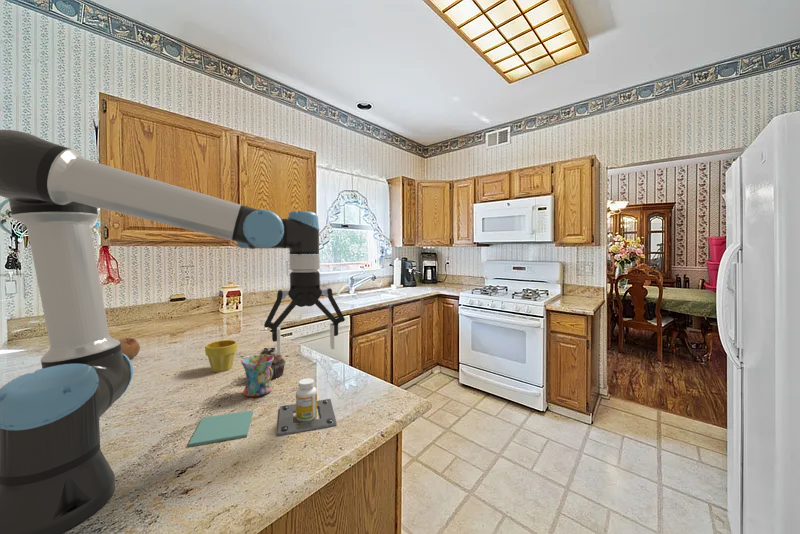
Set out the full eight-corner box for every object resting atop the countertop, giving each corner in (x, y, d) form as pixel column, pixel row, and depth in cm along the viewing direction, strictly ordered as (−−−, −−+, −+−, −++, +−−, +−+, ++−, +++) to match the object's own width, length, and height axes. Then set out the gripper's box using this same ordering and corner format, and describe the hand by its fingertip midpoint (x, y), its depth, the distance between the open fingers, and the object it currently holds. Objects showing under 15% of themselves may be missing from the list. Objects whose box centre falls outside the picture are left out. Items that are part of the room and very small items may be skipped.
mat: (246, 436, 75) (246, 434, 75) (188, 446, 71) (188, 444, 71) (252, 412, 86) (252, 410, 86) (202, 419, 82) (202, 417, 82)
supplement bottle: (307, 409, 88) (307, 375, 87) (321, 414, 85) (321, 379, 85) (291, 418, 83) (291, 382, 83) (306, 424, 80) (305, 387, 80)
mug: (236, 394, 97) (235, 360, 97) (263, 383, 105) (262, 352, 105) (258, 404, 91) (257, 368, 90) (285, 392, 98) (285, 359, 98)
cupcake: (285, 379, 109) (285, 350, 109) (255, 383, 105) (254, 354, 105) (285, 369, 118) (284, 343, 117) (256, 373, 114) (256, 346, 114)
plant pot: (224, 375, 112) (223, 348, 112) (199, 373, 114) (198, 347, 113) (243, 365, 123) (242, 340, 122) (219, 363, 124) (219, 339, 124)
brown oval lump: (136, 365, 130) (147, 344, 130) (107, 366, 122) (118, 343, 122) (131, 353, 135) (141, 332, 135) (102, 353, 128) (113, 331, 127)
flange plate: (336, 425, 80) (336, 421, 80) (277, 435, 75) (277, 432, 75) (330, 400, 93) (330, 397, 93) (280, 408, 88) (280, 405, 88)
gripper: (349, 269, 90) (350, 342, 91) (254, 271, 82) (256, 351, 83) (354, 270, 83) (355, 349, 84) (251, 273, 75) (253, 360, 76)
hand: (306, 350), depth 83 cm, fingers open, 13 cm apart
